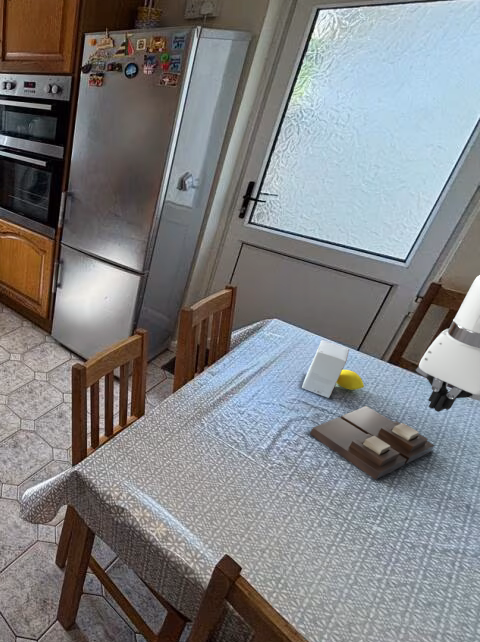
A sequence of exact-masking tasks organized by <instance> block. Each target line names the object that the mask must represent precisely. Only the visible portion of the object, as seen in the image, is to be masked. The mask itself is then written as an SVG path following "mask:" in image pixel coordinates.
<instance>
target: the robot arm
mask: <svg viewBox="0 0 480 642" xmlns="http://www.w3.org/2000/svg"><path fill="white" fill-rule="evenodd" d="M415 372H417V374H419V375H421V376H423V377H424V378H426V379H427V381H428V382H429V383H428V384H430V387H431V391H432V392H431V394H430V395H429V398H428V399H427V401H428V402H429V404H428V408H430V409H432V410H434V411H436V412H437V413H440V412H441V411H443V410H446V411H447V410H450V409H451V408H452V407H453V405H454V403H455V402H456V400H457V399H465V398H469V399H472V400H475V401H479V402H480V274H479V275H477V276H476V278H475V279H474V280H473V282H472V284H471V286H470V287H469V290H468V291H467V293H466V295H465V297H464V299H463V301H462V302H461V305H460V307H459V308H458V311H457V312H456V314H455V317H454V318H453V319H452V322H451V324H450V326H449V328H446V329H444V330H443V331H441V332H440V333H439V334H438V335H437V337H436V338H434V340H433V341H432V343H431V344H430V345H429V346H428V348H427V350H426V351H425V352H424V354H423V355H422V357H421V359H420V360H419V364H418V366H417V368H415ZM448 385H451V386H453V387H452V388H451V389H450V390H448Z"/></svg>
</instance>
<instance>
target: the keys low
mask: <svg viewBox="0 0 480 642" xmlns="http://www.w3.org/2000/svg"><path fill="white" fill-rule="evenodd" d="M340 418H341V419H343V420H345V421H346V422H348V423H349V424H351V425H353V426H354V427H356V428H357V429H359V430H361V431H362V432H364V433H365V434H370V435H372V436H375V437H377V438H379V439H380V440H382V441H384V442H385V443H387V444H388V445H390V447H391V448H393V449H394V450H396V451H397V452H399V453H400V454H399V455H401V456H402V457H404V458H406V459H407V460H406V461H405V463H404V465H407V464H409V463H412V462H413V461H415V460H417V459H419V458H421V457H423V456H425V455H427V454H429V453H431V451H433V449H434V447H435V444H433V443H431V442H430V441H429V439H428V438H427V437H425V436H424V435H422V434H420V433H419V434H418V435H417V437H416V438H414V439H412V440H410V441H408V440H406V439H404V438H403V437H401V436H399V435H398V434H396V433H394V432H393V431H392V430H393V428H394V427H395V426H397V425H399V424H401V422H399V421H397V420H396V421H393V420H391V419H389V418H388V417H386V416H384V415H382V414H381V413H379V412H377V411H376V410H374V409H372V408H370V407H368V406H367V405H365V406H362V407H359V408H358V409H355V410H353V411H350V412H348V413H345V414H343V415H341V416H340Z"/></svg>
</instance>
